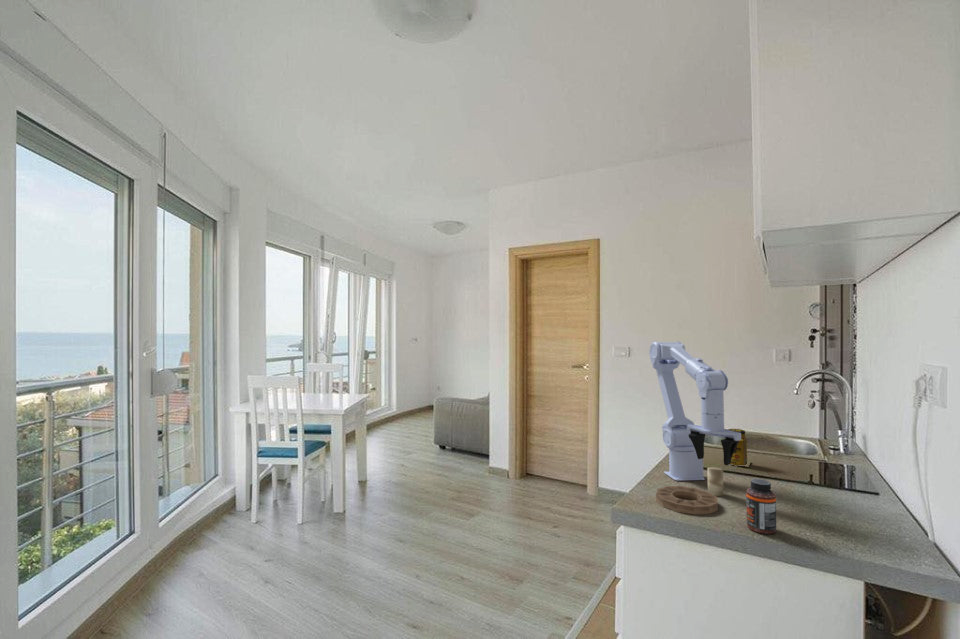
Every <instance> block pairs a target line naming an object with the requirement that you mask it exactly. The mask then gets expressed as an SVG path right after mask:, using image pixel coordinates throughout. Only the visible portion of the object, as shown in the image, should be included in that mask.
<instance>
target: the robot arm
mask: <svg viewBox="0 0 960 639" xmlns="http://www.w3.org/2000/svg"><path fill="white" fill-rule="evenodd" d="M648 355H649V359H650V362H651V366H652V368H653V369H654V370H655V371H656V376H657V379H658V384H659V386H660V387H659V388H660V392H661V397H662V399H663V403H664V407H665V411H666V416H667V420H666V421H665V422H664V423H663V424H662V426H661V429H662V442H663V443H664V445H665V446H666V448H668V460H669V461H668V462H669V464H668V466H669V469H668V470H669V471H665V470H664V471H663V473H664V474H665V475H666V476H668V477H669V478H671V479H673V480H674V481H677V482H678V481H681V482H682V481H684V482H685V481H704V480H706V479H705V477H704V457H705V448H704V447H705V438H706V435H707V436H713V437H717V438H724V439H720V442H721V445H722V452H723V464H724V465H725V466H731V465H730V463H731V459H732V455H733V452H734V450H735V448H736V446H737V445H738V443H739V440H741V433H739V432H734V431H730V430H728V429H726V428H725V406H724V405H725V404H724V402H725V401H724V400H725V398H724V391H726V390H727V389H728V386H729V379H728V376H727V374H726V373H725V372H724V371H723V370H721V369H720V370H719V369H718V370H715V369H713V368H712V366H709V365H708V364H707V363H706V362H704V359H702V358H701V357H695V358H694V357H693V356H692V355H691V354H690V353H689V352H688V351H687V350H686V346H685V344H684V343H682V342H681V341H653V342H652V343H651V345H650V347H649V353H648ZM680 365H682V366H684V370H685V373H686V374H687V375H689V376H690V377H691V378H692V379H693V380H694V381H695V383H696V387H697V389H698V396H699V397H700V398H701V399H700V403H701V404H700V406H701V407H700V409H701V411H700V412H701V416H700V417H701V425H700V424H695V422H694V421H692V420H690V419H689V418H687V416H686V415H685V410H684V408H683V404H682V401H681V395H680V392H679V389H678V386H677V382H676V378H675V375H674V370H676V369H677V368H678V367H679V366H680Z"/></svg>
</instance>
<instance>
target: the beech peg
mask: <svg viewBox="0 0 960 639" xmlns="http://www.w3.org/2000/svg"><path fill="white" fill-rule="evenodd" d="M706 475H707V492H709V493H711V494H712V495H714V496H715V497H723V496H724V469H723V468H719V467H713V466H709V467H707V474H706Z"/></svg>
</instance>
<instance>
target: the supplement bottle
mask: <svg viewBox="0 0 960 639" xmlns="http://www.w3.org/2000/svg"><path fill="white" fill-rule="evenodd" d="M771 484H772V483H771V481H769V480H766V479H761V478H753V479H751V480H750V487H748V488H747V489H746V494H745V495H746V496H745V497H746V498H745V499H746V502H745V503H746V525H747V528H748V529H749V530H751V531H753V532H755V533H758V534H763V535H773V534H775V533H776V532H777V498H776V497H777V496H776V493H775V492H774V491H773V490H771V489H772V486H771Z"/></svg>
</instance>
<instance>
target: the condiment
mask: <svg viewBox="0 0 960 639" xmlns="http://www.w3.org/2000/svg"><path fill="white" fill-rule="evenodd" d="M727 430H730V431H734V432H739V433H741V440H739V443H738V445H737V446H736V448H735V450H734V452H733V455H732V459H731V463H730V464H733V465H746V464H747V462H748V446H747V445H748V441H747V438H746V431H745V430H744V429H740V428H728V429H727Z"/></svg>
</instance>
